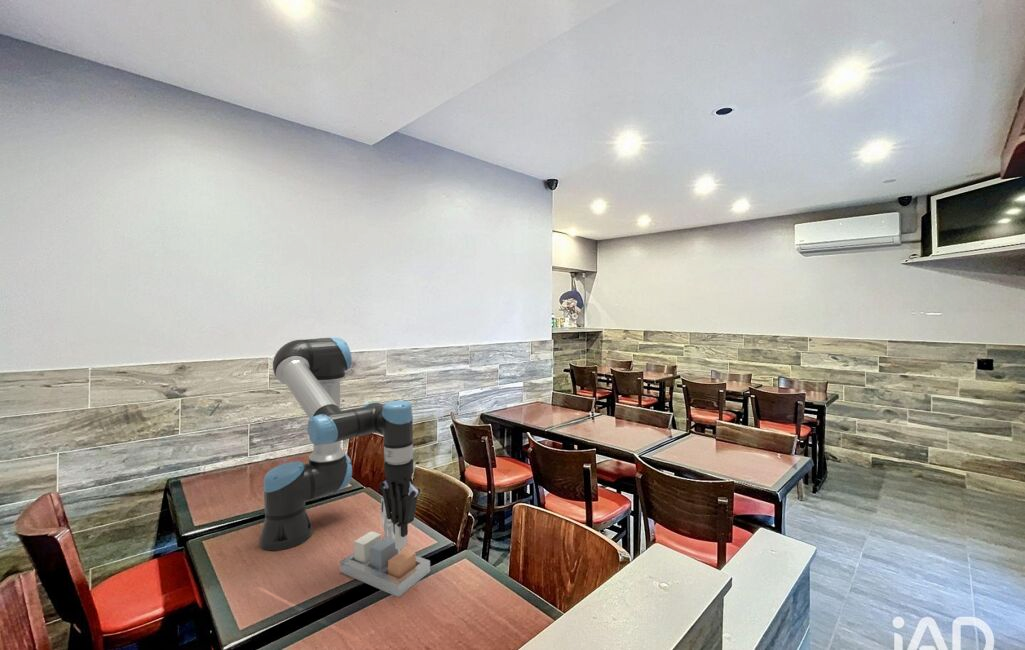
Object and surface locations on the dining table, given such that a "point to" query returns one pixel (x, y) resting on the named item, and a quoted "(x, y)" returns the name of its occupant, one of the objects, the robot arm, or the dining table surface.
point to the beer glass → (386, 522)
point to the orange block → (402, 563)
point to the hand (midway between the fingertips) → (400, 546)
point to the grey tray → (384, 574)
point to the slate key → (383, 552)
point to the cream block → (365, 546)
